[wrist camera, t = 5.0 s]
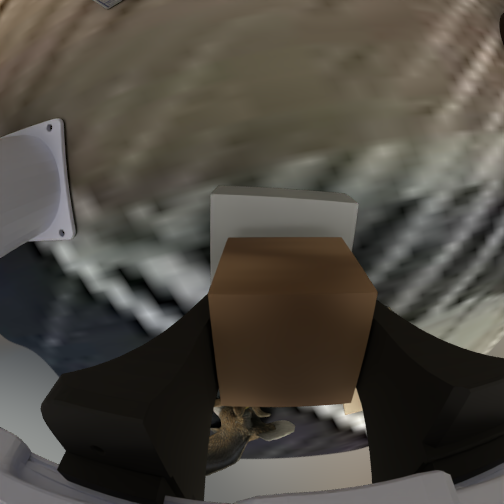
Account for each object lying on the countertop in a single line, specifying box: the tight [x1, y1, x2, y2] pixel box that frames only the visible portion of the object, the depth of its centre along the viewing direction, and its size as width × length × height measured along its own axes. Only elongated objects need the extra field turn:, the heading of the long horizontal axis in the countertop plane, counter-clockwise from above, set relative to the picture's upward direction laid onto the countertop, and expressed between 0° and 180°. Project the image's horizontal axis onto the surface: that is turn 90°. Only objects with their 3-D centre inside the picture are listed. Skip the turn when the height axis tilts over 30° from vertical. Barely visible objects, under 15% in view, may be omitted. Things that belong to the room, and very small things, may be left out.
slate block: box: [210, 186, 358, 284], centre depth 17 cm, size 7×7×3 cm
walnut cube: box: [208, 237, 378, 407], centre depth 11 cm, size 4×4×4 cm
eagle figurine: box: [206, 399, 295, 476], centre depth 20 cm, size 8×7×9 cm
